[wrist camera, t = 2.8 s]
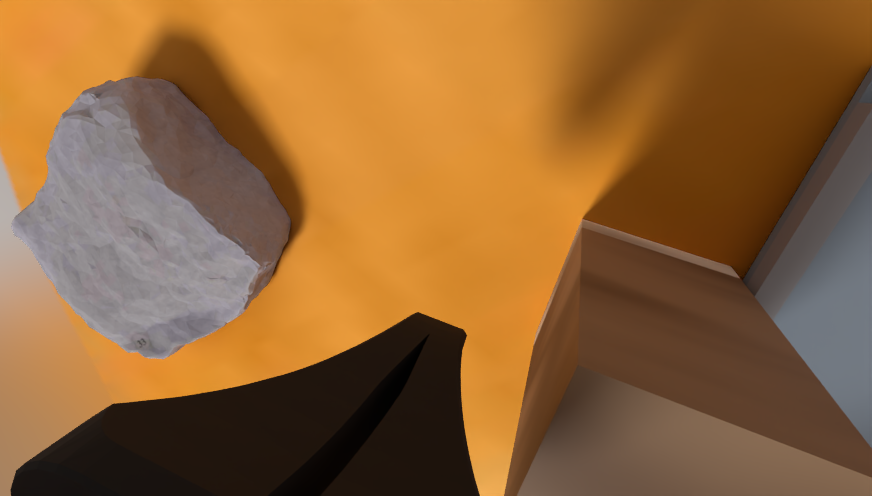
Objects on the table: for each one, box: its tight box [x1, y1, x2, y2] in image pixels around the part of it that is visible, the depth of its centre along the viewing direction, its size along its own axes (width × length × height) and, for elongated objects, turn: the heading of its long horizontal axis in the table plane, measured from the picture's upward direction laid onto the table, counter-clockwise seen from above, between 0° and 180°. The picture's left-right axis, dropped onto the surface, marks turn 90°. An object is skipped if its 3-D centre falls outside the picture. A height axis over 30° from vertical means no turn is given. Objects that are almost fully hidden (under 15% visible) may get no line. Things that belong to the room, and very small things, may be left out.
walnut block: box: [504, 219, 872, 496], centre depth 12 cm, size 5×5×9 cm
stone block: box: [11, 77, 291, 359], centre depth 21 cm, size 12×5×10 cm
